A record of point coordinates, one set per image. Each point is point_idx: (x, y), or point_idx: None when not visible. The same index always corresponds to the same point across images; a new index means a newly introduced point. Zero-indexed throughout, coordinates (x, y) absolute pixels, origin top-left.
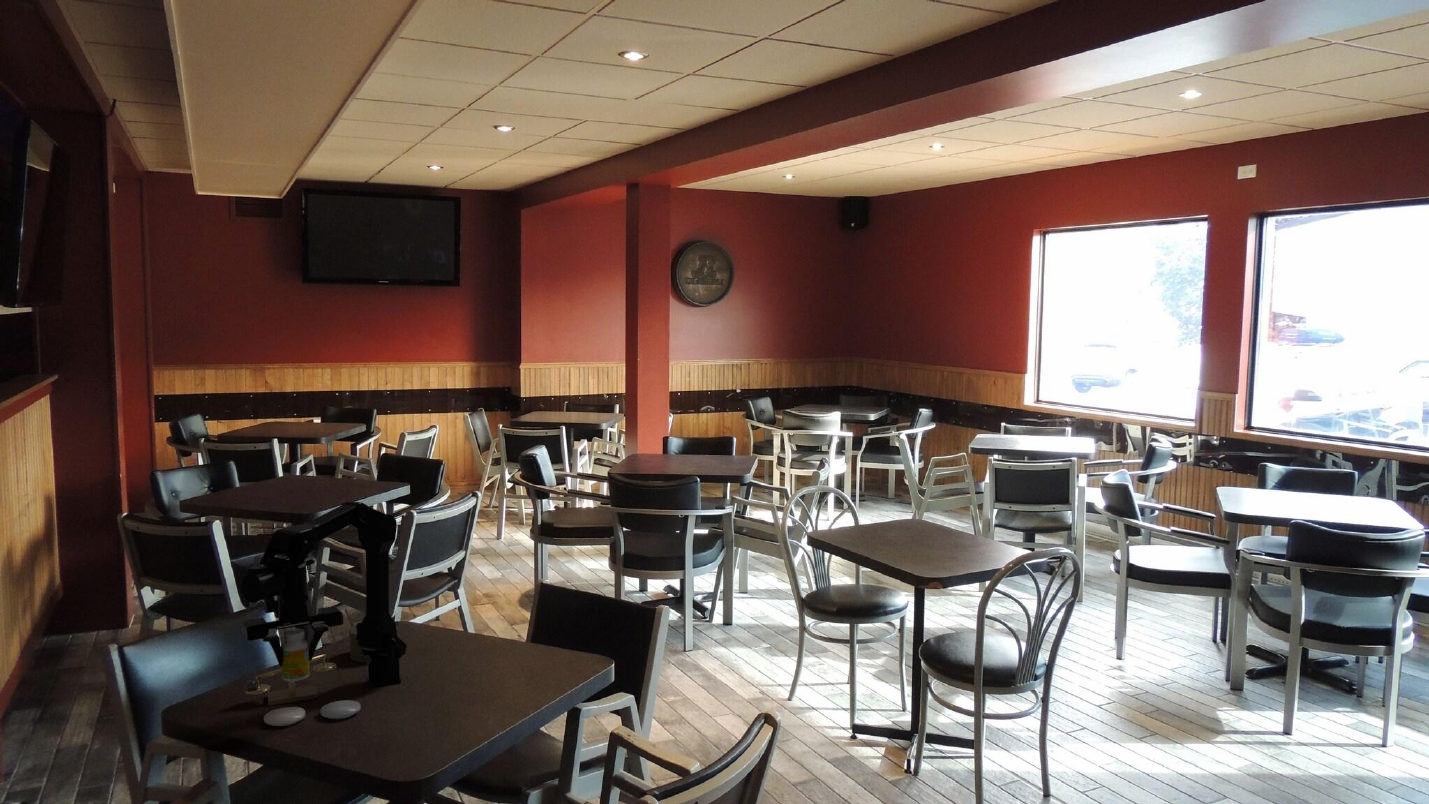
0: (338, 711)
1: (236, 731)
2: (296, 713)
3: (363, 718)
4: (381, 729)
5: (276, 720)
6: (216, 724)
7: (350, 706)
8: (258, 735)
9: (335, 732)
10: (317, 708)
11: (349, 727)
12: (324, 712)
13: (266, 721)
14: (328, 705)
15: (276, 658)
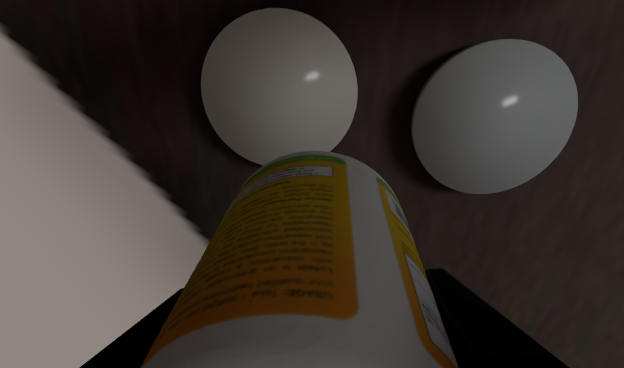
0: (473, 160)
1: (122, 115)
2: (323, 106)
3: (535, 196)
4: (545, 295)
5: (249, 143)
6: (29, 5)
7: (531, 129)
8: (199, 182)
9: (421, 260)
10: (417, 10)
11: (469, 244)
12: (423, 145)
13: (214, 127)
14: (457, 75)
15: (135, 330)
